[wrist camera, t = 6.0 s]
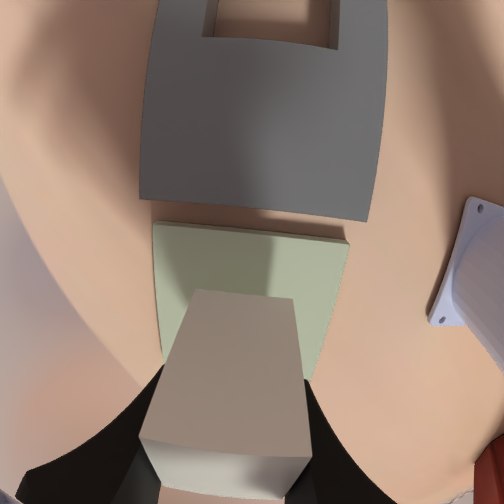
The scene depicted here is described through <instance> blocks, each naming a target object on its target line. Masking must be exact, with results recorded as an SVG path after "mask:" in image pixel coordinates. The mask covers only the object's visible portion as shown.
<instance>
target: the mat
mask: <svg viewBox="0 0 504 504" xmlns="http://www.w3.org/2000/svg"><path fill="white" fill-rule="evenodd" d="M152 232H153V257H154V275H155V289H156V301H157V311H158V321H159V330H160V339H161V346H162V354H163V361H164V364H165V363H166V360H167V358H168V355H169V353H170V350H171V348H172V345H173V343H174V340H175V337H176V335H177V332H178V330H179V327H180V325H181V323H182V320H183V318H184V315H185V313H186V310H187V308H188V305H189V303H190V301H191V298H192V296H193V293H194V291H195V289H205V290H213V291H222V292H230V293H240V294H249V295H259V296H269V297H280V298H291V299H293V304H294V310H295V317H296V324H297V331H298V338H299V346H300V353H301V361H302V369H303V376H304V379H307V380H308V381H311V378H312V375H313V372H314V370H315V367H316V364H317V361H318V358H319V355H320V352H321V348H322V345H323V342H324V339H325V336H326V333H327V329H328V326H329V323H330V319H331V316H332V312H333V309H334V305H335V302H336V298H337V294H338V291H339V287H340V283H341V279H342V275H343V271H344V267H345V263H346V259H347V255H348V250H349V246H350V244H349V243H348V242H347V240H341V239H333V238H325V237H316V236H308V235H299V234H290V233H281V232H272V231H262V230H253V229H243V228H233V227H223V226H212V225H202V224H191V223H180V222H168V221H156V222H154V223H153V224H152Z"/></svg>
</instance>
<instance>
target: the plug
mask: <svg viewBox="0 0 504 504" xmlns="http://www.w3.org/2000/svg"><path fill="white" fill-rule="evenodd" d="M139 438H140V441H141V443H142V445H143V447H144V449H145V451H146V453H147V456H148V458H149V460H150V462H151V464H152V466H153V467H154V469H155V471H156V473H157V475H158V477H159V479H160V481H161V482H162V484H163V486H166V487H170V488H174V489H180V490H184V491H190V492H196V493H202V494H209V495H216V496H225V497H235V498H249V499H282V498H283V497H284V496H285V494H286V493H287V492H288V490H289V489H290V488H291V486H292V485H293V484H294V482H295V481H296V480H297V478H298V477H299V475H300V474H301V472H302V471H303V470H304V468H305V467H306V465H307V464H308V462H309V461H310V459H311V458H312V448H311V438H310V428H309V419H308V410H307V401H306V393H305V385H304V376H303V369H302V361H301V353H300V346H299V338H298V331H297V324H296V317H295V310H294V304H293V299H291V298H280V297H269V296H259V295H249V294H240V293H230V292H222V291H213V290H205V289H195V291H194V293H193V296H192V298H191V301H190V303H189V305H188V308H187V310H186V313H185V315H184V318H183V320H182V323H181V325H180V327H179V330H178V332H177V335H176V337H175V340H174V343H173V345H172V348H171V350H170V353H169V355H168V358H167V360H166V363H165V366H164V368H163V371H162V373H161V376H160V379H159V381H158V384H157V387H156V389H155V392H154V395H153V397H152V400H151V403H150V406H149V408H148V411H147V414H146V417H145V420H144V422H143V425H142V428H141V431H140V434H139Z"/></svg>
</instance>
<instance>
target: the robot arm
mask: <svg viewBox="0 0 504 504" xmlns="http://www.w3.org/2000/svg"><path fill="white" fill-rule="evenodd" d="M479 205H480V206H479ZM478 206H479V210H478ZM441 317H442V318H441ZM440 318H441V319H440ZM427 320H428V323H429V324H430V325H431V326H461V325H467V326H468V328H469V329H470V330H471V331H472V333H473V334H474V335H475V336H476V338H477V339H478V340H479V341H480V343H481V344H482V345H483V347H484V348H485V349H486V351H487V352H488V353H489V355H490V356H491V357H492V359H493V360H494V361H495V363H496V364H497V365H498V367H499V368H500V370H501V371H502V373H503V374H504V207H502V206H499V205H497V204H494V203H491V202H488V201H485V200H483V199H480V198H477V197H474V196H471V197H469V198H468V199H467V201H466V203H465V208H464V212H463V216H462V220H461V224H460V228H459V231H458V235H457V238H456V242H455V245H454V249H453V252H452V255H451V258H450V261H449V264H448V267H447V270H446V273H445V276H444V278H443V281H442V284H441V287H440V289H439V292H438V294H437V297H436V299H435V302H434V304H433V307H432V309H431V311H430V314H429V316H428V319H427ZM164 366H165V364H164V365H162V367H161V368H160V369H159V371H158V372H157V373H156V375H155V376H154V377H153V378H152V380H151V381H150V382H149V383H148V384H147V386H146V387H145V388H144V389H143V390H142V392H141V393H140V394H139V395H138V396H137V397H136V398H135V399H134V400H133V401H132V403H131V404H130V405H129V406H128V407H127V408H126V409H125V410H124V411H123V412H121V413H120V414H119V415H118V416H117V417H116V418H115V419H114V420H113V421H112V422H111V423H110V424H108V425H107V426H106V427H105V428H104V429H102V430H101V431H100V432H99V433H98V434H96V435H95V436H94V437H92V438H91V439H89V440H88V441H86V442H85V443H84V444H82V445H81V446H79V447H77V448H76V449H74V450H72V451H71V452H69V453H67V454H65V455H63V456H61V457H59V458H57V459H56V460H53V461H51V462H49V463H47V464H44V465H42V466H39V467H37V468H34V469H31V470H29V471H27V472H26V474H25V476H24V477H23V479H22V481H21V483H20V485H19V488H18V490H17V492H16V495H15V497H16V499H18V500H19V501H20V502H22V503H23V504H157V503H158V497H159V491H160V487H161V481H160V479H159V477H158V475H157V473H156V471H155V469H154V467H153V466H152V464H151V462H150V460H149V458H148V456H147V453H146V451H145V449H144V447H143V445H142V443H141V441H140V438H139V434H140V431H141V428H142V425H143V422H144V420H145V417H146V414H147V411H148V408H149V406H150V403H151V400H152V397H153V395H154V392H155V389H156V387H157V384H158V381H159V379H160V376H161V373H162V371H163V368H164ZM304 385H305V393H306V401H307V410H308V419H309V428H310V438H311V448H312V458H311V459H310V461H309V462H308V464H307V465H306V467H305V468H304V470H303V471H302V472H301V474H300V475H299V477H298V478H297V480H296V481H295V482H294V484H293V485H292V486H291V488H290V489H289V490H288V492H287V493H286V494H285V504H397V503H396V502H395V501H393V500H392V499H391V498H390V497H389V496H387V495H386V494H385V493H384V492H383V491H382V490H381V489H380V488H379V487H378V486H377V485H376V484H374V483H373V482H372V481H371V480H370V479H369V478H368V477H367V476H366V474H365V473H364V472H363V471H362V470H361V469H360V468H359V466H358V465H357V464H356V463H355V461H354V460H353V459H352V458H351V456H350V455H349V454H348V452H347V451H346V450H345V448H344V447H343V445H342V444H341V442H340V441H339V439H338V438H337V436H336V435H335V433H334V431H333V430H332V428H331V426H330V424H329V423H328V421H327V419H326V417H325V416H324V414H323V412H322V410H321V408H320V406H319V404H318V402H317V400H316V398H315V396H314V393H313V391H312V389H311V387H310V384H309V382H308V380H307V379H304ZM0 504H20V503H19V502H17V501H16V500H15V499H13V498H12V497H11V496H9V495H8V494H6V493H5V492H4V491H2V490H1V489H0Z"/></svg>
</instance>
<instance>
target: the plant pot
mask: <svg viewBox="0 0 504 504" xmlns="http://www.w3.org/2000/svg"><path fill="white" fill-rule="evenodd" d="M474 504H504V434H503V435H502V436H500V437H499V438H497V439H496V440H494V441H493V442H492V443H490V444H489V446H488V447H487V448H486V450H485V451H484V453H483V454H482V455H481V457H480V458H479V459H478V461H477V462H476V463H475V465H474Z"/></svg>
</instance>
